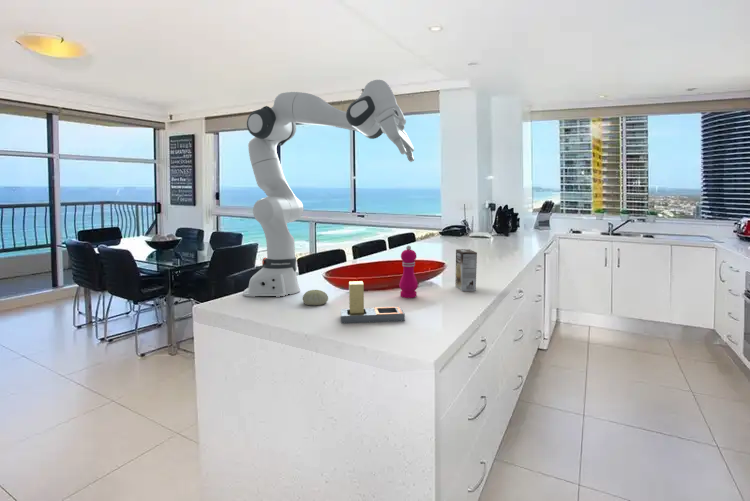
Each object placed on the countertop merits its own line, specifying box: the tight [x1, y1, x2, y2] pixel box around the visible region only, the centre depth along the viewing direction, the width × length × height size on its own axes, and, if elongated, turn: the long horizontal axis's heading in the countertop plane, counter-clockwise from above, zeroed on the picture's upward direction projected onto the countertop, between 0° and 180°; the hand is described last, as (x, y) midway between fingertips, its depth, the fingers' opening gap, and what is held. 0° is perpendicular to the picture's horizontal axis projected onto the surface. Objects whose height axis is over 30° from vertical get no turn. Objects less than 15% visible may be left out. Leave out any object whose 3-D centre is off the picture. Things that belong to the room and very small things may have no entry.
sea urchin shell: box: [302, 289, 329, 306], centre depth 160 cm, size 9×8×8 cm
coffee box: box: [455, 248, 478, 292], centre depth 181 cm, size 9×6×16 cm
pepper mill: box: [398, 245, 419, 299], centre depth 169 cm, size 7×7×20 cm
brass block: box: [348, 280, 365, 315], centre depth 139 cm, size 4×4×12 cm
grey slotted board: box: [340, 306, 406, 324], centre depth 141 cm, size 20×8×3 cm, turn 96°
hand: (408, 157), depth 146 cm, fingers open, 8 cm apart
